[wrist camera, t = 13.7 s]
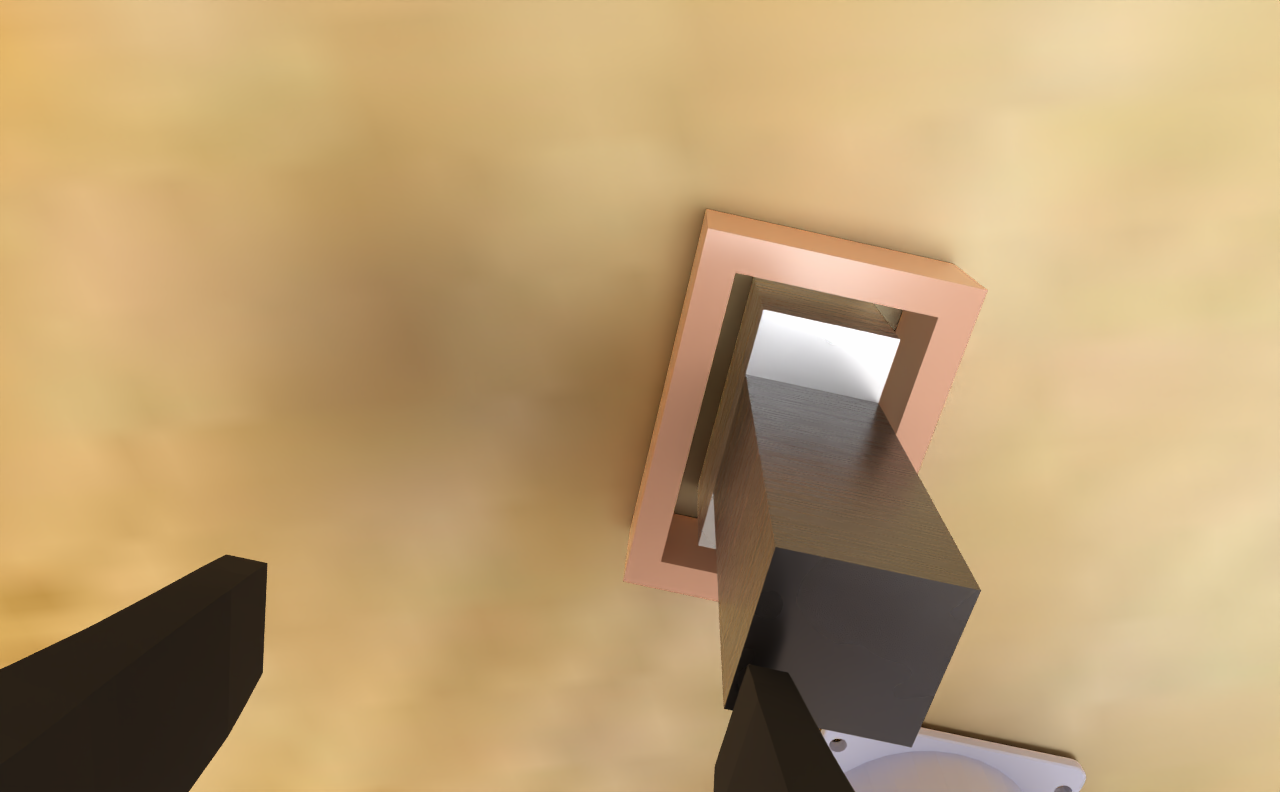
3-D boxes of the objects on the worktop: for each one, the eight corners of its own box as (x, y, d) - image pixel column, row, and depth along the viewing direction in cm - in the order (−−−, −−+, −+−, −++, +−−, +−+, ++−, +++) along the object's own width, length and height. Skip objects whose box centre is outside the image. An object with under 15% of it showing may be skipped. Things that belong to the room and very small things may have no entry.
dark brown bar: (872, 301, 20) (1020, 500, 11) (804, 509, 23) (881, 816, 14) (753, 275, 20) (805, 454, 11) (697, 486, 23) (701, 779, 13)
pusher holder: (953, 263, 20) (987, 290, 18) (841, 574, 23) (857, 631, 21) (706, 208, 20) (708, 228, 18) (630, 529, 23) (622, 581, 21)
